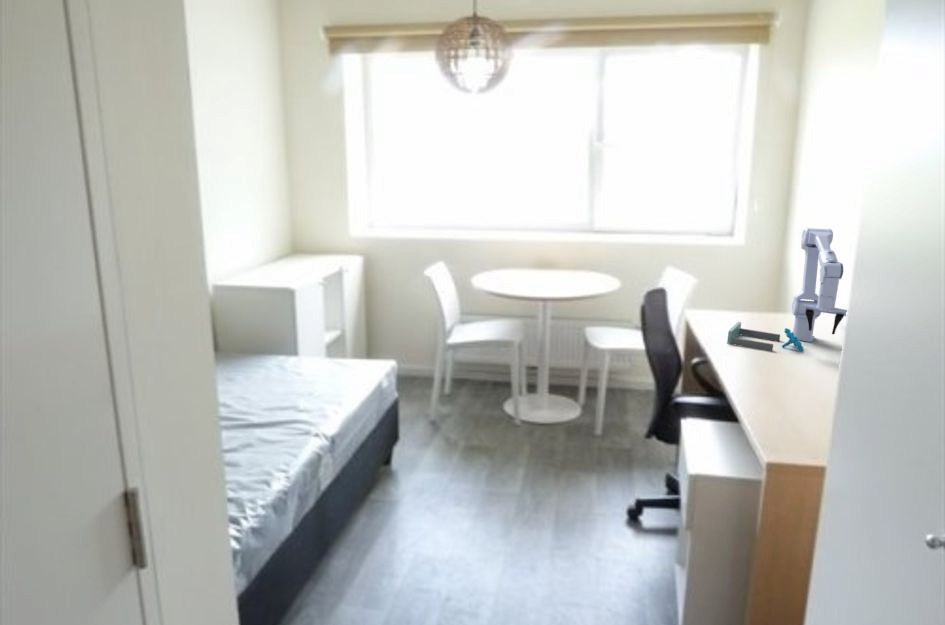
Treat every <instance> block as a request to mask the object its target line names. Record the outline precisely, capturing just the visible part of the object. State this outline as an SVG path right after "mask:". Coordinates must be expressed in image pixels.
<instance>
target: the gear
mask: <svg viewBox="0 0 945 625" xmlns="http://www.w3.org/2000/svg"><path fill="white" fill-rule="evenodd" d="M783 332H784V334H785V335H786V337H787V338H788V340H787V342H786V343H784V344H782V345H781V347H782V348H786V347H787V346H789V345H793V347H795V348H797V350H798V351H800V352H803V351H804V346H803V343H802V342H801V340H798V337H797V336H794V333H793V331H792V330H791V329H790V328H787V327H786V328H784V331H783Z"/></svg>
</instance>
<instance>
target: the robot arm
mask: <svg viewBox="0 0 945 625" xmlns="http://www.w3.org/2000/svg"><path fill="white" fill-rule="evenodd" d="M833 238H834V231H833V230H832V229H831V228H826V229H825V228H814V227H813V228H812V227H811V228H810V227H805V228H804V229H803V231H802V233H801V242H800V244H801V245H800V246H801V247H800V248H801V249H802V250H803V251H804V254H805V256H804V268H803V278H802V287H801V288H802V289H801V292H799V293H798V294H796V295H795V296H794V297H793V302H792V305H791V313H792V315H793V316H794V323H793V330H792V332H793V333H794V336H797V337H798V340H799V341H803V342H809V343H812V342H813V341H814V339H815V335H814V327H815V324H816V323H815V321H816V320H817V319H818V317H820V316H821V314H822V313H824V314H832V315H835V316H834V322H833V328H832V332H831V334H832V335H835V334H836V330H837V328H838V326H839V324H840V323H841V321H842V320H843V319H844V317H847V316H846V312H847V310H848V309H842V308H838V307H836V301H837V295H838V290H839V284H840V283H839V282H840V280H841V279H842V277H843V274H844V264H843V263H842V262H840V261H838V259H837V256H836V253H835V251H834V250H832V248H831V244H832V242H833ZM818 264H820V269H819V283H820V284H819V292H818V295H817V293H816V288H817V278H818V276H817V275H818Z"/></svg>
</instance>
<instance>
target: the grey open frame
mask: <svg viewBox="0 0 945 625" xmlns="http://www.w3.org/2000/svg"><path fill="white" fill-rule="evenodd" d="M727 332H728V333H727V334H728V335H727V342H726V344H728V343H729V345H734V344H736V345H735V346H739V345H742V346H741V347H745V346H747V348H751V347H752V348H753V349H757V348H758V350H763V349H765V350H764V351H769V350H770V351H769V352H773V348H774V343H769V342H763V341H758V340H752V339H751V340H750V339H744V338H739V337H737V336H739V334H742V335H741V336H744V335H747V336H746V337H750V336H752V337H751V338H756V337H758V338H757V339H763V338H765V339H764V340H769V339H770V341H775V340H776V341H775V342H780V339H781V334H780V333H779V334H778V333H772V332H766V331H761V330H754V329H747V328H742V322H741V321H738V322H737V323H735V324H734V325H733V326H732V327H731V328H730V329H729V330H728V331H727ZM736 337H737V338H736Z"/></svg>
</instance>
